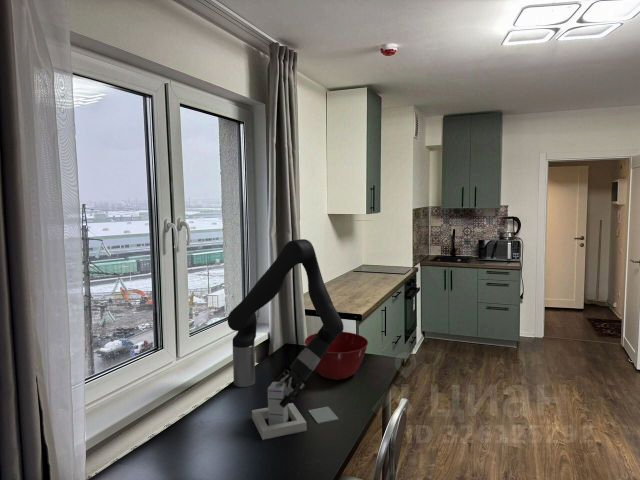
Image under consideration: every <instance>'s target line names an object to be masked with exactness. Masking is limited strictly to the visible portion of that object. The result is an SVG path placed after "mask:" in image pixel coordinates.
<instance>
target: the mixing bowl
mask: <svg viewBox="0 0 640 480" xmlns="http://www.w3.org/2000/svg"><path fill="white" fill-rule="evenodd" d="M317 333H318V332H317ZM317 333H313V334H311V335H309V336H307V337H305V340H304V344H305V347H306V346H307V345H308V344H309V343H310V341H311V340H312V339H313V338H314V337H315V336H316V334H317ZM368 346H369V341H368V339H367V338H366V337H364V336H362V335H360V334H358V333H353V332H349V331H343V332H342V333H341V334H340V335H339V336H338V337H337V338H336V339H335V340H334V341H333V343H332V344H331V345H330V346H329V349H328V350H327V352H326V353H325V355H324V356H323V357H322V359H321V360H320V362H319V363H318V365H317V366H316V368H315V369H314V370H315V371H316V372H317V373H318V375H321V376H322V377H323V378H326V379H328V380H334V381H336V380H341V381H342V380H344V379H347V378H349V377H351V376H353V375H354V374H356V372H357V371H358V370H359V367H360V366H361V364H362V362H363V359H364V357H365V354H366V351H367V347H368Z"/></svg>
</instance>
